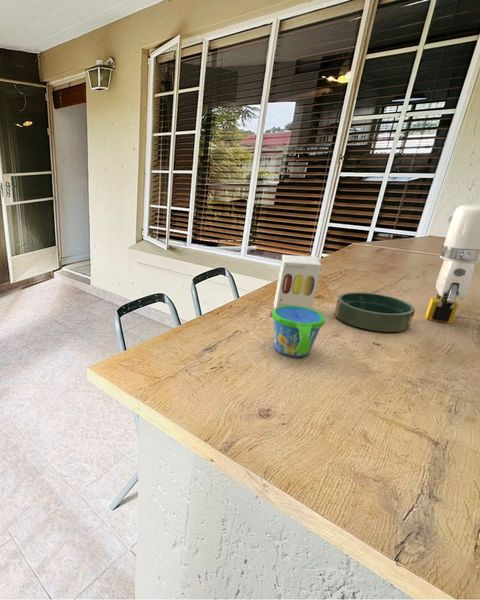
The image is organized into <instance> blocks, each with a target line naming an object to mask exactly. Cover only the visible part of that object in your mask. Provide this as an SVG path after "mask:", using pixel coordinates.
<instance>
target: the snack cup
mask: <svg viewBox="0 0 480 600" xmlns="http://www.w3.org/2000/svg"><path fill="white" fill-rule="evenodd" d="M272 318H273V346H274V348H275V350H277V352H278V353H279V354H283V355H284V356H287V357H290V358H302V357H306V356H308V355H309V354H310V353H311V350H312V349H313V346H314V343H315V342H316V339H317V336H318V335H319V332H320V329H321V328H322V327H323V326H324V325H325V323H326V321H325V320H326V319H325V316H324V314H322V312H320V311H318V310H315V309H313V308H312V309H310V308H306V307H301V306H280V307H277V308H275V309H274V308H273V310H272Z"/></svg>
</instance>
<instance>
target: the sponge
mask: <svg viewBox="0 0 480 600" xmlns="http://www.w3.org/2000/svg"><path fill="white" fill-rule="evenodd" d="M439 300H440V299H437V298H436V297H431V298H430V301H429V304H428V306H427V310H426V312H425V318H426V320H429V321H433V322H434V321H435V322H439V323H446V324H447V323H448V324H452V323H453V321H454V318H455V316H456V313H457V310H458V307H459V303H458V302H457V300H455V303H454V306H453V310H452V313H451V315H450V318H449V321H447V322H446V321H439V320H433V319H432V316H433V313H434V311H435V308H436V306H438V304H439ZM443 301H444V300H443Z"/></svg>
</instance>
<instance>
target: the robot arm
mask: <svg viewBox="0 0 480 600" xmlns="http://www.w3.org/2000/svg"><path fill="white" fill-rule="evenodd" d="M439 258H440V259H442V260H443V261H442V265H441V268H440V270H439V274H438V276H437V279H436V284H435V289H436V292H437V293H436V296H435V298H437V299H440V300H439V304H438V306H436V308H435V311H434V313H433V316H432V319H433V320H432V321H434V320H439V321H438V322H440V321H446V322H445V323H447V321H449V318H450V315H451V313H452V310H453V306H454V303H455V301H457V297H458V298H459V299H460V300H465V299H466V297H467V294H468V291H469V290H470V289H469V288H470V285H471V282H472V279H473V276H474V272H475V266H476V263H480V203H467V204H466V203H465V204H461V205H459V206H457V207H456V208H455V210H454V212H453V215H452V218H451V221H450V224H449V227H448V230H447V234H446V236H445V240H444V242H443V245H442V248H441V251H440V253H439ZM443 300H444V301H443Z"/></svg>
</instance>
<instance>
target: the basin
mask: <svg viewBox="0 0 480 600" xmlns="http://www.w3.org/2000/svg"><path fill="white" fill-rule="evenodd" d="M415 312H416V309H415V306H413V305H412V304H411V303H409V302H408V301H405V300H403V299H400V298H397V297H393V296H391V295H390V296H389V295H384V294H379V293H373V292H360V291H359V292H358V291H357V292H356V291H355V292H354V291H353V292H345V293H342V294H340V295H338V296H337V301H336V305H335V309H334V313H333V314H334V316H335V317H336V318H337V319H338V320H340V321H342V322H343V323H346V324H348V325H350V326H352V327H356V328H359V329H363V330H368V331H371V332H381V333H382V332H384V333H393V332H395V333H396V332H402V331H406V330H408V329H409V328H410V326H411V324H412V321H413V317H414V314H415Z"/></svg>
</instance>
